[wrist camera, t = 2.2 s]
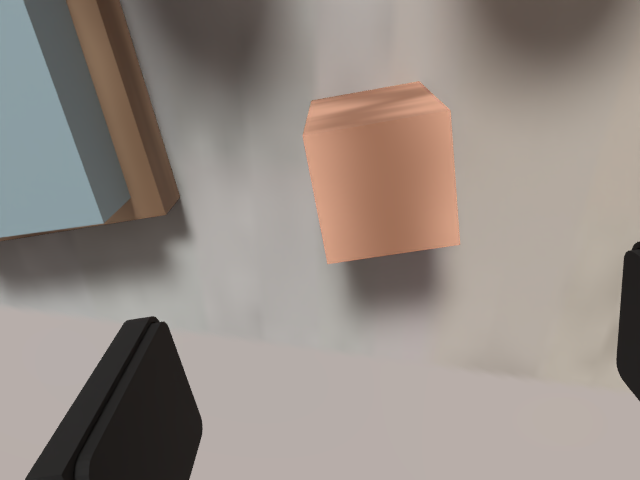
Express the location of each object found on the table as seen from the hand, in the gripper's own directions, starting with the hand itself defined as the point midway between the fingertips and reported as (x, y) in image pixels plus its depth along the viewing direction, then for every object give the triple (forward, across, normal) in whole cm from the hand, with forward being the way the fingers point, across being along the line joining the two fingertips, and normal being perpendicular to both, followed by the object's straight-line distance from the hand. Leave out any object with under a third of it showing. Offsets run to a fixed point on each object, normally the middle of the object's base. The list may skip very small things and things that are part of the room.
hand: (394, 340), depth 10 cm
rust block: (+16, -1, 0) cm, 16 cm away
